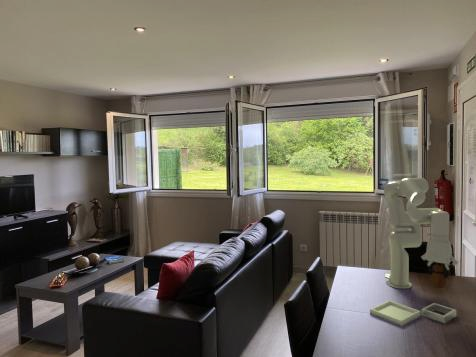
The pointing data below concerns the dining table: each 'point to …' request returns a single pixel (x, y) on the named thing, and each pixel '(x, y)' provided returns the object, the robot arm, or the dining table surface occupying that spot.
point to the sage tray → (395, 313)
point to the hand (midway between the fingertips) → (438, 275)
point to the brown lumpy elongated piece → (438, 276)
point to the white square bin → (441, 318)
